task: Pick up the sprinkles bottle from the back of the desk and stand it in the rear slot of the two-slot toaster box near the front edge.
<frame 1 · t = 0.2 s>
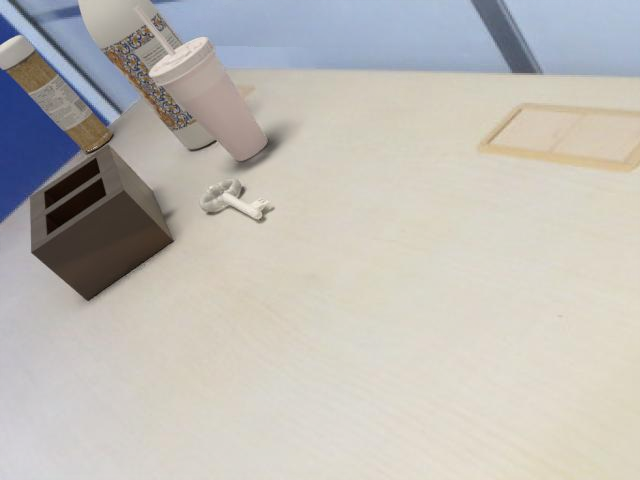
two-slot toaster box: (122, 240, 72), on the table
smoothie: (253, 151, 75), on the table
bath foam: (215, 134, 83), on the table
key: (239, 208, 66), on the table
sprinkles bottle: (100, 145, 99), on the table
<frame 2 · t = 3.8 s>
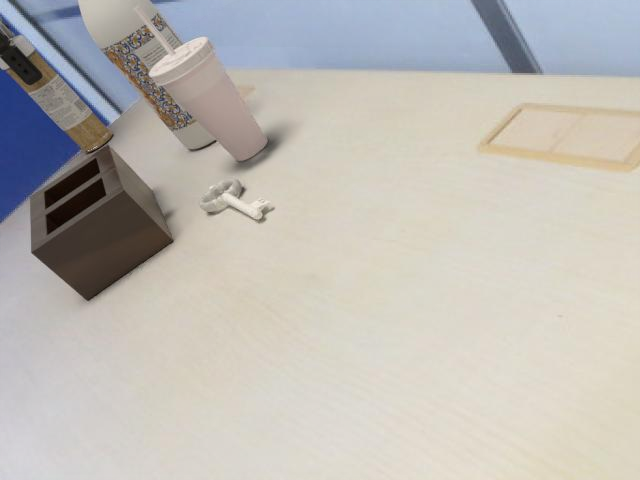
hand: (35, 76, 92), 9 cm above the table, tool pointing down, fingers closed on sprinkles bottle, 4 cm apart
sprinkles bottle: (100, 145, 99), on the table, touching gripper
everything else where it was.
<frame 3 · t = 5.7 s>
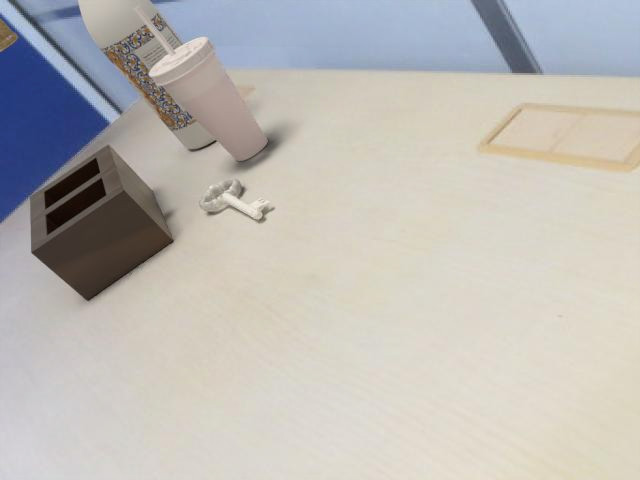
sprinkles bottle: (4, 50, 87), point 13 cm above the table, touching gripper
everything else where it was.
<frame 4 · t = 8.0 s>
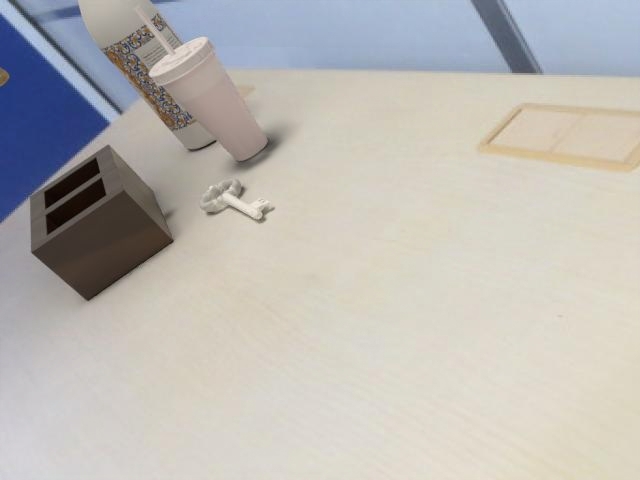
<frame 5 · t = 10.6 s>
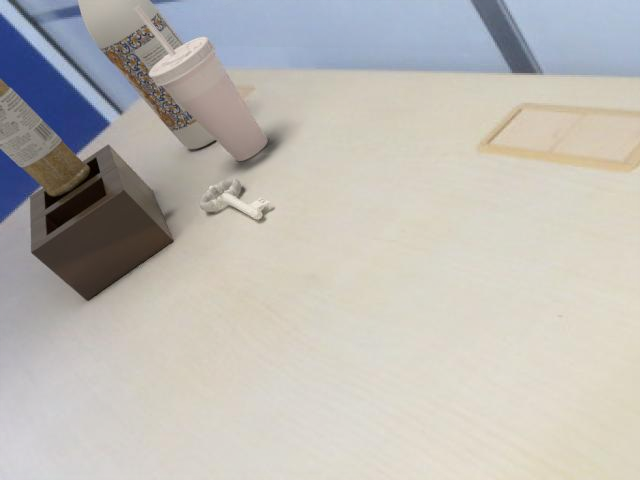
sprinkles bottle: (74, 185, 71), point 5 cm above the table, touching gripper
everything else where it was.
when the fingers open (9 cm above the table, at t = 12.5 s): sprinkles bottle stays where it is, resting in two-slot toaster box.
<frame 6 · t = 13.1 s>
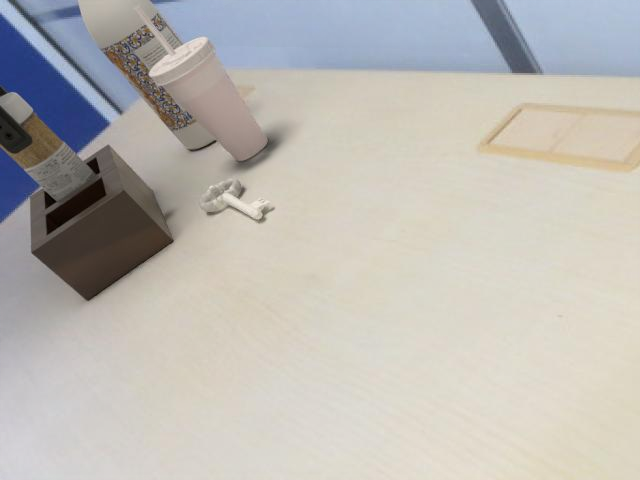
hand: (24, 136, 67), 10 cm above the table, tool pointing down, fingers open, 8 cm apart
sprinkles bottle: (120, 230, 75), resting in two-slot toaster box
everything else where it was.
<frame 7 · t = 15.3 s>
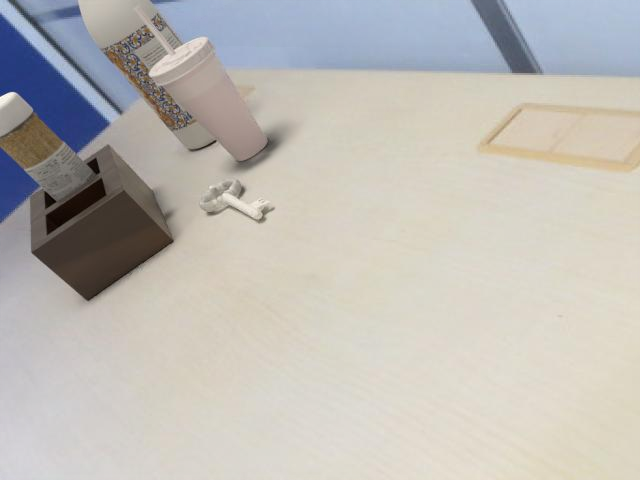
nothing on the table moved.
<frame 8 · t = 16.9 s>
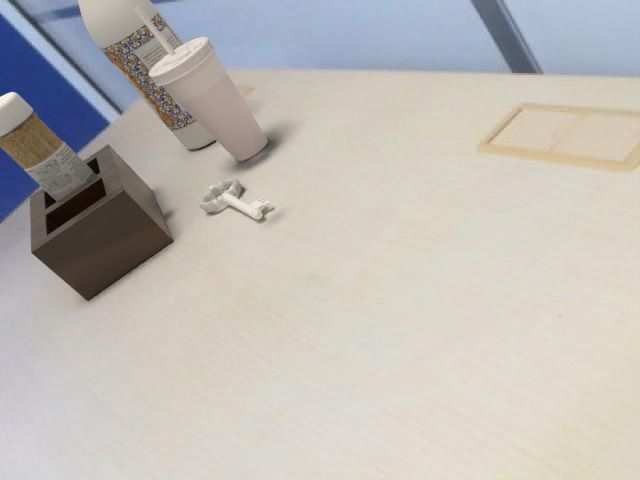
nothing on the table moved.
at the end: sprinkles bottle 0.1 cm from the target spot in the two-slot toaster box, point 0.0 cm above the two-slot toaster box's base; sprinkles bottle tilted 0°; the gripper is holding nothing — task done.
